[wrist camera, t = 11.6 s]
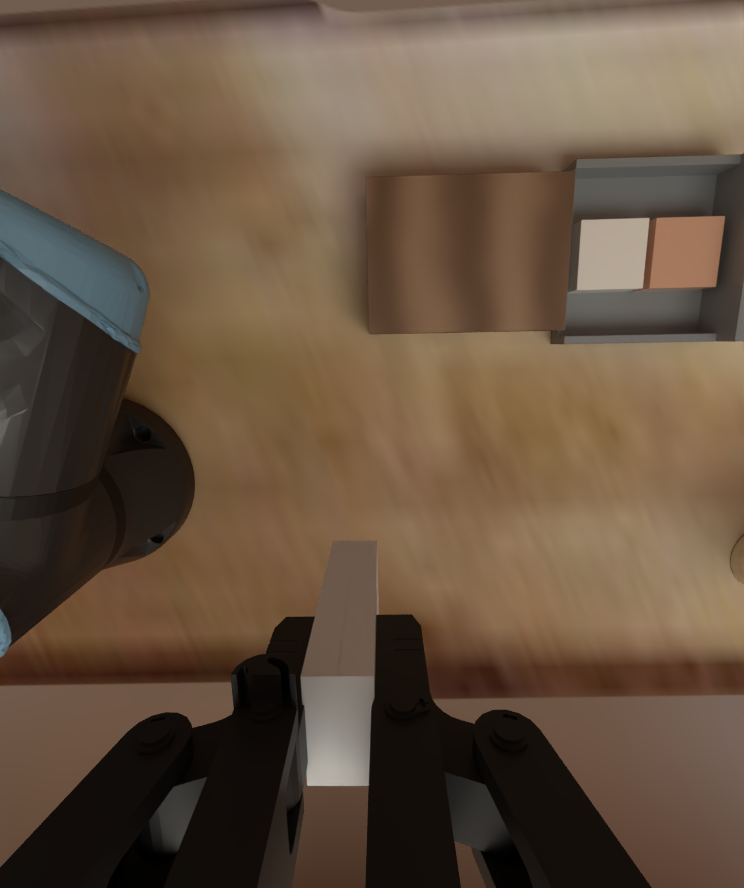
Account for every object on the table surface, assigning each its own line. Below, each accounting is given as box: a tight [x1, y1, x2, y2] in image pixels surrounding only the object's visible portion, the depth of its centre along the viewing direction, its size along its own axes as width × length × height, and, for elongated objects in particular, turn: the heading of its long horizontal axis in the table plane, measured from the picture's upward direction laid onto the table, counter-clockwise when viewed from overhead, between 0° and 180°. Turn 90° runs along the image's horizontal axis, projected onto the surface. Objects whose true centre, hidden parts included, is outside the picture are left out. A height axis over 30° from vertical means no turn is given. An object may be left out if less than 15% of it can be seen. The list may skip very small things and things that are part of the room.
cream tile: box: [568, 218, 649, 293], centre depth 36 cm, size 5×5×2 cm
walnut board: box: [366, 171, 576, 334], centre depth 37 cm, size 15×11×4 cm
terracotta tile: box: [632, 216, 725, 292], centre depth 36 cm, size 5×5×2 cm
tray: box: [551, 154, 744, 344], centre depth 36 cm, size 13×13×5 cm
